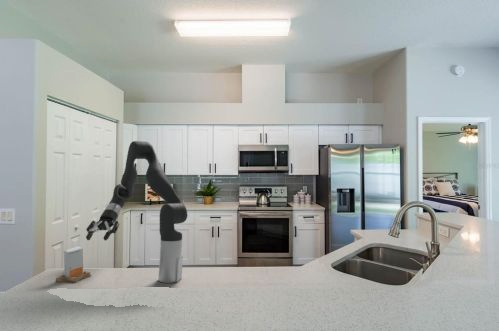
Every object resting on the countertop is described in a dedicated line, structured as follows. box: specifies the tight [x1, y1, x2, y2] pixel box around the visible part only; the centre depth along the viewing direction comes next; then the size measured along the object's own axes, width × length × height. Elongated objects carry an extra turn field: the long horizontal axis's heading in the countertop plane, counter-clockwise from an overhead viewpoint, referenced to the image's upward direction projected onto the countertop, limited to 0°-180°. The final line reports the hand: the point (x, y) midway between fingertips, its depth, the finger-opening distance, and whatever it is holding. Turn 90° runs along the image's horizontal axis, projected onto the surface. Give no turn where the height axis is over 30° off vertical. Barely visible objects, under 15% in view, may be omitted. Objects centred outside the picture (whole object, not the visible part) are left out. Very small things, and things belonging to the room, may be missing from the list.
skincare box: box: [63, 245, 84, 277], centre depth 116 cm, size 6×4×12 cm
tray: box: [55, 271, 92, 284], centre depth 116 cm, size 9×9×2 cm
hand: (96, 239), depth 129 cm, fingers open, 8 cm apart
